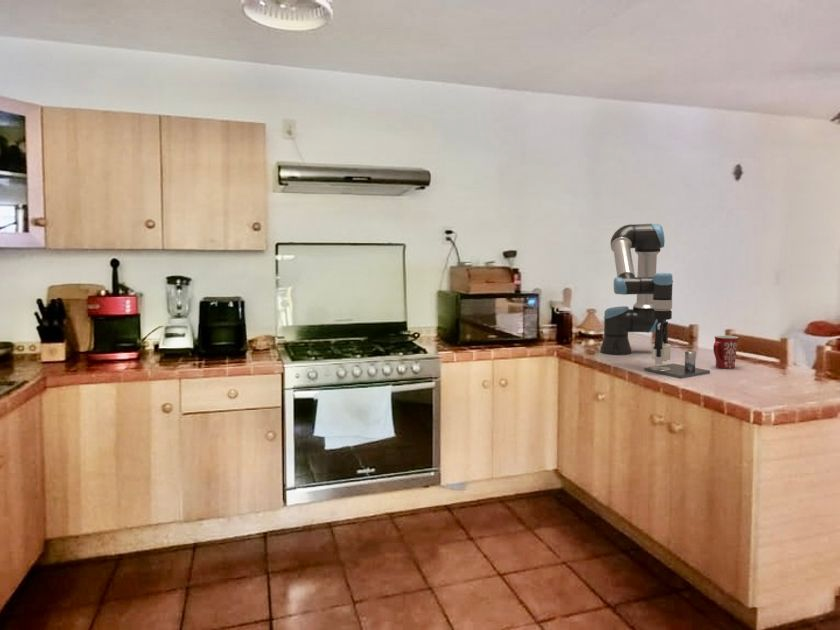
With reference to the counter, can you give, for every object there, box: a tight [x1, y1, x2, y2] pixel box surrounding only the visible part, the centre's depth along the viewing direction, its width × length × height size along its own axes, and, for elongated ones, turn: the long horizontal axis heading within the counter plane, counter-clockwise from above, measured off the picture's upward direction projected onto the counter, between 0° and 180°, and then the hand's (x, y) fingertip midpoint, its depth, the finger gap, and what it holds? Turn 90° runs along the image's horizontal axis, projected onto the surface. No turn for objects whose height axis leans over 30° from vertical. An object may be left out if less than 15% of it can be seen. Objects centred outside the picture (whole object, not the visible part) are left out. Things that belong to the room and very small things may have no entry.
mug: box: [712, 334, 739, 369], centre depth 242 cm, size 13×9×14 cm
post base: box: [644, 350, 711, 379], centre depth 235 cm, size 18×18×9 cm
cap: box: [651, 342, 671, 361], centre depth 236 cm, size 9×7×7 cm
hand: (660, 362), depth 237 cm, fingers closed on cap, 9 cm apart
